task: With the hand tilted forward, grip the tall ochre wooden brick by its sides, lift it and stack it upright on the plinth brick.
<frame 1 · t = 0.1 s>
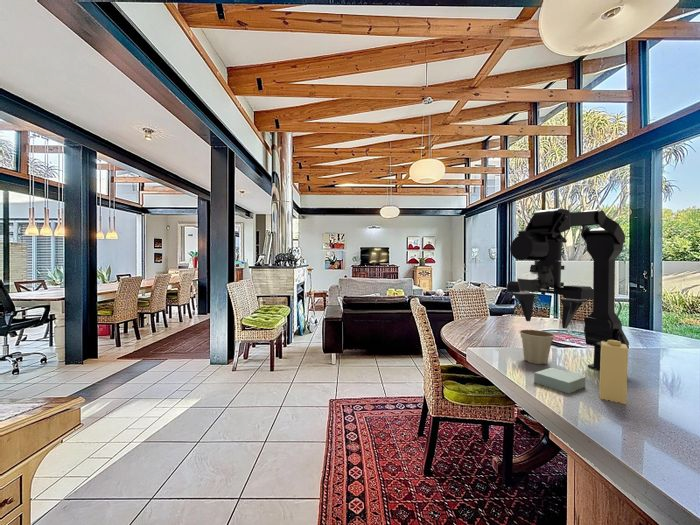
hand: (545, 324, 85), 15 cm above the table, tool pointing down, fingers open, 9 cm apart
plinth brick: (559, 384, 85), on the table
flower pot: (535, 362, 104), on the table
tower brick: (612, 398, 77), on the table
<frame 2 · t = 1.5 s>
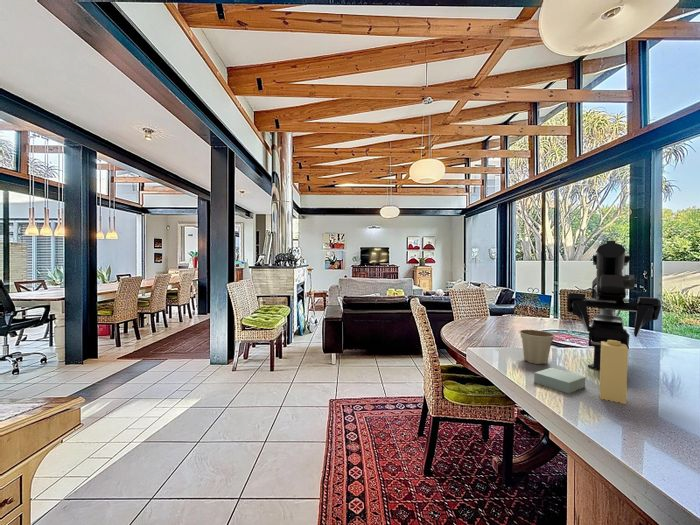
hand: (611, 332, 84), 13 cm above the table, tool tilted 45°, fingers open, 9 cm apart
nothing on the table moved.
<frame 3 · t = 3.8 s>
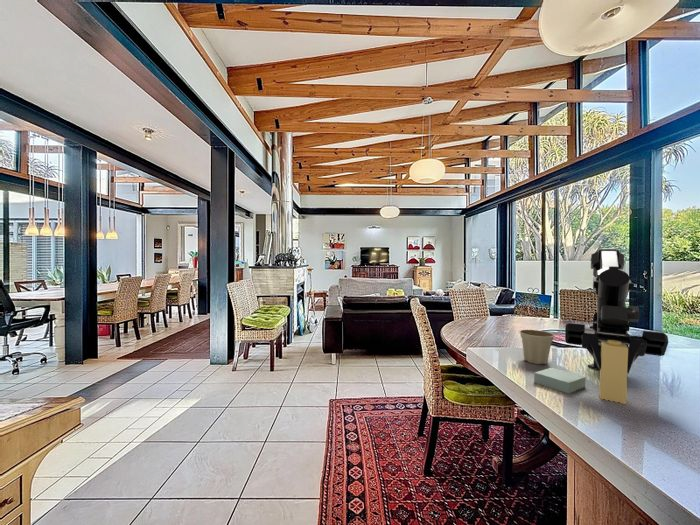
hand: (613, 370, 76), 7 cm above the table, tool tilted 45°, fingers closed on tower brick, 4 cm apart
tower brick: (612, 398, 77), on the table, touching gripper
everything else where it was.
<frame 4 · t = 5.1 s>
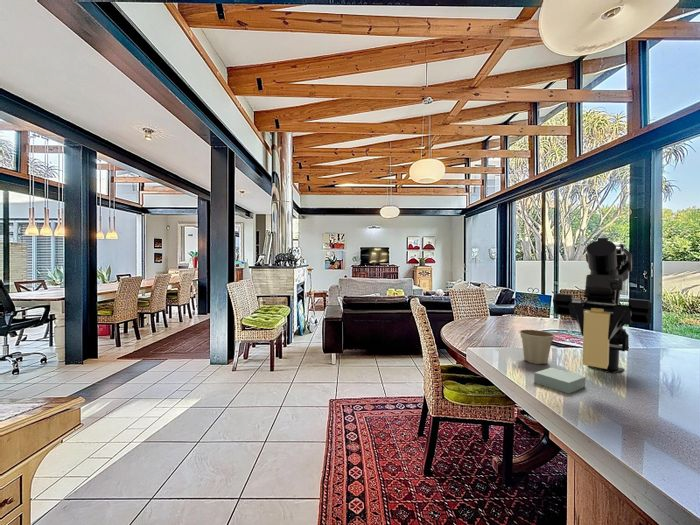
hand: (595, 336, 78), 13 cm above the table, tool tilted 45°, fingers closed on tower brick, 4 cm apart
tower brick: (595, 364, 79), point 7 cm above the table, touching gripper
everything else where it was.
when the fingers open (10 cm above the table, at t = 6.5 s): tower brick stays where it is, resting on plinth brick.
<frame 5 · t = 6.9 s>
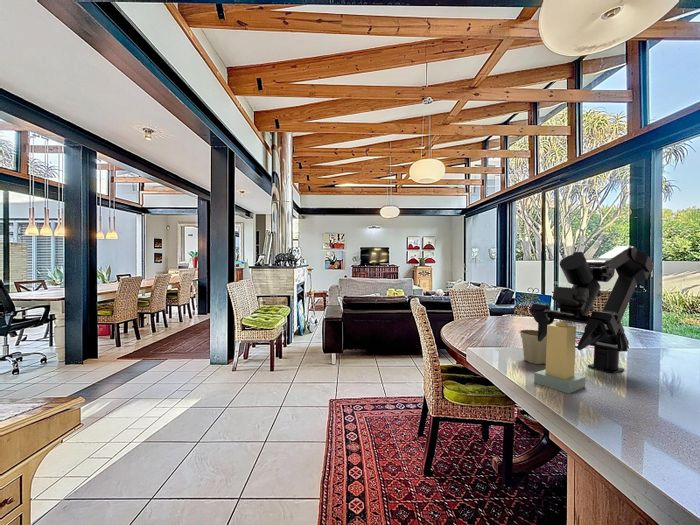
hand: (557, 344, 84), 10 cm above the table, tool tilted 45°, fingers open, 9 cm apart
tower brick: (559, 374, 85), point 2 cm above the table, touching plinth brick
everything else where it was.
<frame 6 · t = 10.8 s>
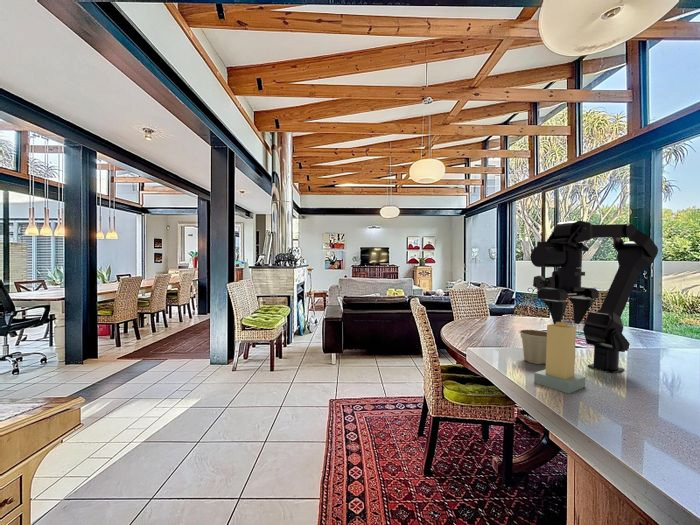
hand: (567, 325, 94), 13 cm above the table, tool pointing down, fingers open, 9 cm apart
nothing on the table moved.
at the end: tower brick 0.0 cm off-centre on the plinth brick, point 2.5 cm above the plinth brick's base; tower brick tilted 0°; the gripper is holding nothing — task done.
